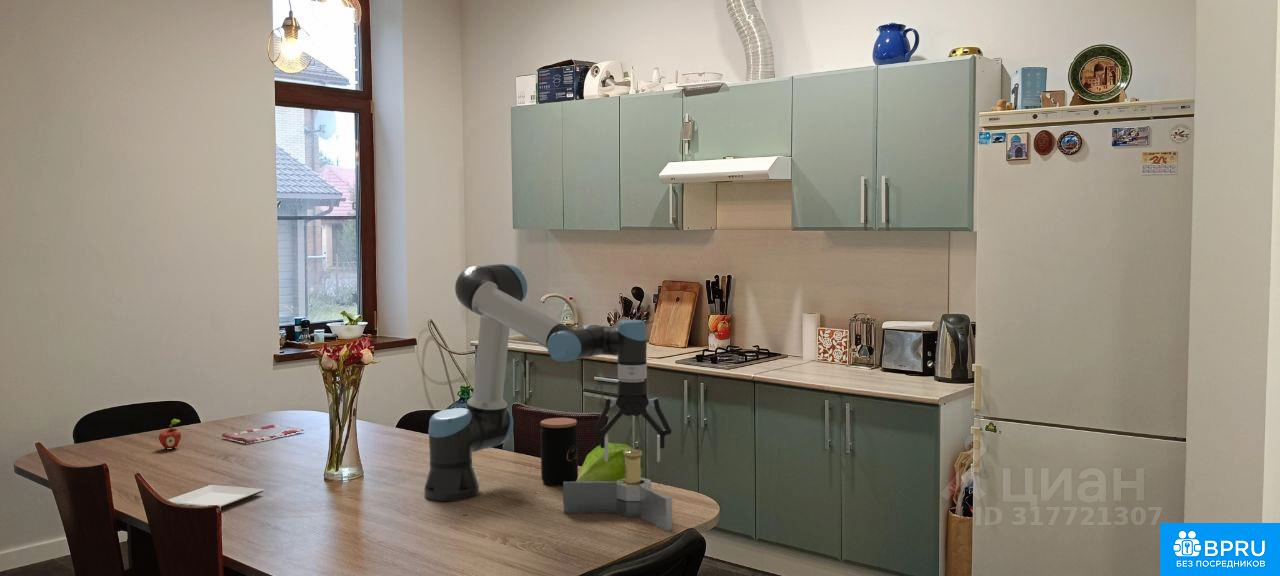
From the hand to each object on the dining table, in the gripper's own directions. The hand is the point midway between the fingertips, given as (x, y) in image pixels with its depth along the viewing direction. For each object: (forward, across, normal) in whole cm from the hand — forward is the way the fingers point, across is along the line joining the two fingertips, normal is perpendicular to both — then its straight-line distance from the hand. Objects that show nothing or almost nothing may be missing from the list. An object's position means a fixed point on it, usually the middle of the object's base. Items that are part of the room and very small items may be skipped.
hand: (632, 460), depth 259 cm
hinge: (+14, -4, -6) cm, 15 cm away
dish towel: (+17, -139, +98) cm, 170 cm away
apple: (+16, -163, +78) cm, 181 cm away
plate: (+15, -117, +12) cm, 118 cm away
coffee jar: (+14, -23, +31) cm, 41 cm away
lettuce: (+14, -8, +18) cm, 24 cm away
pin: (+14, 0, 0) cm, 14 cm away
